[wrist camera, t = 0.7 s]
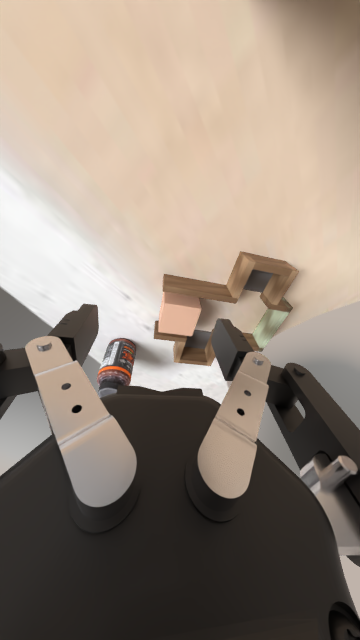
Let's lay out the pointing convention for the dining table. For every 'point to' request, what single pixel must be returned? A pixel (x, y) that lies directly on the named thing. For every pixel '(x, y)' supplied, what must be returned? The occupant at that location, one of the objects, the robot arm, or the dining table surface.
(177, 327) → the block
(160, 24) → the dining table surface
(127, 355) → the supplement bottle
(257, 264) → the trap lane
